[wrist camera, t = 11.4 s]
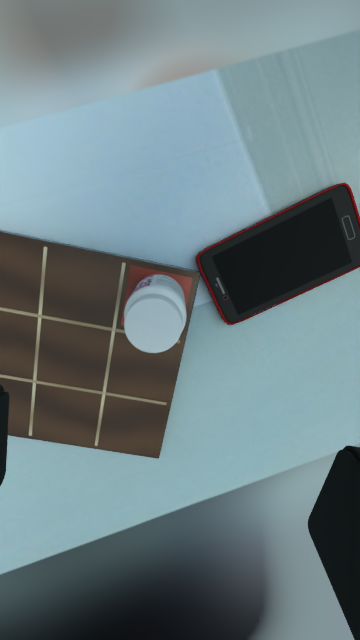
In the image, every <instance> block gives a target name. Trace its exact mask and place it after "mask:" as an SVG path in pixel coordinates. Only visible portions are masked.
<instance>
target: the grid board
mask: <svg viewBox="0 0 360 640" xmlns="http://www.w3.org/2000/svg"><path fill="white" fill-rule="evenodd" d="M153 274H164V275H167V276H170V277H172V278H173V279H175V280H176V281H177V282H178V283H179V284H180V286H181V287H182V290H183V292H184V297H185V306H186V314H187V317H186V324H185V327H184V329H183V331H182V332H181V335H180V337H179V339H178V341H177V342H176V343H175V344H174V345H173V346H172V347H171V348H169V349H168V350H166V351H163V352H159V353H148V352H144V351H141V350H139V349H138V348H136V347H135V346H134V345H132V344H131V342H130V341H129V340H128V338H127V336H126V333H125V329H124V320H125V319H124V310H125V306H126V303H127V301H128V299H129V297H130V296H131V294H132V293H133V291H134V290H135V288H136V286H137V285H138V284H139V282H140V281H141V280H143V279H144V278H145V277H147V276H150V275H153ZM199 277H200V272H199V271H196V270H191V269H186V268H181V267H176V266H171V265H166V264H161V263H156V262H152V261H147V260H142V259H137V258H132V257H127V256H122V255H117V254H112V253H108V252H103V251H98V250H93V249H88V248H83V247H78V246H73V245H68V244H64V243H59V242H54V241H49V240H44V239H39V238H34V237H29V236H24V235H20V234H15V233H10V232H5V231H0V385H2V386H3V388H4V391H5V392H8V393H9V417H8V435H10V436H17V437H23V438H29V439H36V440H42V441H49V442H55V443H62V444H68V445H75V446H81V447H88V448H94V449H101V450H107V451H113V452H120V453H126V454H133V455H139V456H146V457H152V458H159V455H160V451H161V447H162V442H163V438H164V433H165V429H166V424H167V420H168V415H169V411H170V406H171V402H172V398H173V393H174V389H175V384H176V380H177V375H178V371H179V366H180V362H181V357H182V353H183V349H184V344H185V340H186V335H187V331H188V326H189V322H190V317H191V313H192V308H193V304H194V300H195V295H196V291H197V286H198V282H199Z"/></svg>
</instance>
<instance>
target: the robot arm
mask: <svg viewBox="0 0 360 640" xmlns="http://www.w3.org/2000/svg"><path fill="white" fill-rule="evenodd" d="M8 417H9V393H8V392H5V391H4V388H3V386H2V385H0V486H1V484H2V482H3V479H4V476H5V472H6V456H7V436H8ZM308 529H309V533H310V535H311V538H312V540H313V542H314V545H315V547H316V549H317V552H318V554H319V557H320V559H321V561H322V563H323V566H324V568H325V571H326V573H327V575H328V578H329V580H330V582H331V585H332V587H333V590H334V592H335V594H336V597H337V599H338V601H339V604H340V606H341V608H342V611H343V613H344V616H345V618H346V620H347V623H348V625H349V627H350V630H351V632H352V634H353V637H354V639H355V640H360V448H359V447H354V446H346V447H345V448H344V449H343V450H340V451H339V452H338V453H337V455H336V457H335V460H334V462H333V464H332V467H331V469H330V471H329V473H328V476H327V478H326V480H325V483H324V485H323V487H322V489H321V491H320V494H319V496H318V498H317V501H316V503H315V505H314V507H313V510H312V512H311V514H310V516H309V519H308Z"/></svg>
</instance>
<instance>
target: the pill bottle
mask: <svg viewBox="0 0 360 640" xmlns="http://www.w3.org/2000/svg"><path fill="white" fill-rule="evenodd" d="M186 317H187V314H186V306H185V297H184V292H183V290H182V287H181V286H180V284H179V283H178V282H177V281H176V280H175V279H173V278H172V277H170V276H167V275H164V274H153V275H150V276H147V277H145V278H144V279H143V280H141V281H140V282H139V284H138V285H137V286H136V288H135V290H134V291H133V293H132V294H131V296H130V297H129V299H128V301H127V303H126V306H125V310H124V319H125V320H124V329H125V333H126V336H127V338H128V340H129V341H130V342H131V344H132V345H134V346H135V347H136V348H138V349H139V350H141V351H144V352H148V353H159V352H163V351H166V350H168V349H169V348H171V347H172V346H173V345H174V344H175V343H176V342H177V341H178V339H179V337H180V335H181V332H182V331H183V329H184V327H185V324H186Z"/></svg>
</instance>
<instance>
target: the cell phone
mask: <svg viewBox="0 0 360 640" xmlns="http://www.w3.org/2000/svg"><path fill="white" fill-rule="evenodd" d="M196 262H197V265H198V268H199V270H200V272H201V275H202V277H203V279H204V281H205V283H206V285H207V287H208V290H209V292H210V294H211V296H212V298H213V300H214V302H215V305H216V307H217V309H218V311H219V313H220V315H221V317H222V319H223V320H224V322H225V323H227V324H228V325H233V324H236V323H239V322H241V321H244V320H246V319H248V318H250V317H253V316H255V315H257V314H259V313H261V312H263V311H266V310H268V309H270V308H272V307H274V306H277V305H279V304H281V303H283V302H285V301H287V300H290V299H292V298H294V297H296V296H298V295H300V294H303V293H305V292H307V291H309V290H311V289H314V288H316V287H318V286H320V285H322V284H324V283H327V282H329V281H331V280H333V279H335V278H337V277H340V276H342V275H344V274H346V273H348V272H350V271H353V270H355V269H357V268H359V267H360V216H359V213H358V210H357V206H356V203H355V200H354V196H353V193H352V191H351V188H350V187H349V185H348V184H346V183H341V184H337V185H334V186H332V187H329V188H327V189H325V190H323V191H321V192H319V193H317V194H315V195H313V196H311V197H309V198H307V199H305V200H303V201H301V202H299V203H297V204H295V205H293V206H291V207H289V208H287V209H285V210H283V211H281V212H279V213H276V214H274V215H272V216H270V217H268V218H266V219H264V220H262V221H260V222H258V223H256V225H254V226H252V227H250V228H248V229H244V230H242V231H240V232H238V233H236V234H234V235H232V236H230V237H228V238H226V239H224V240H222V241H220V242H218V243H216V244H214V245H212V246H210V247H208V248H206V249H204V250H203V251H201V252H200V253H199V254H198V255H197V257H196ZM275 304H276V305H275ZM273 305H274V306H273ZM266 308H267V309H266ZM264 309H265V310H264ZM262 310H263V311H262ZM260 311H261V312H260ZM255 313H256V314H255ZM253 314H254V315H253ZM251 315H252V316H251Z"/></svg>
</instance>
